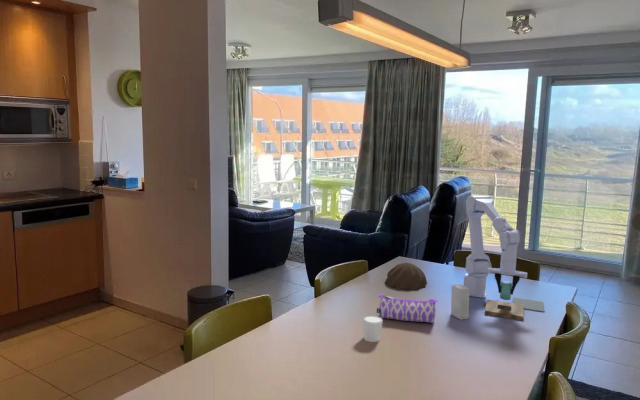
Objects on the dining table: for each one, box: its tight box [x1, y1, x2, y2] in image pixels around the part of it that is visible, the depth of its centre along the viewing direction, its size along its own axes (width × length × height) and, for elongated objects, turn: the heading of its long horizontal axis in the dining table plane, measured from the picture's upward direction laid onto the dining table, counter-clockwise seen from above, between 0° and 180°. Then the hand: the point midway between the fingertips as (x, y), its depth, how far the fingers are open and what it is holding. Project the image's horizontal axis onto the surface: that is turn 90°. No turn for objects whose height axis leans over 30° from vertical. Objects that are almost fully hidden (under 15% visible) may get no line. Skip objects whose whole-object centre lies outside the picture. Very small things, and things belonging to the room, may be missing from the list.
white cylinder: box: [362, 315, 384, 343], centre depth 161 cm, size 7×7×7 cm
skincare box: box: [450, 283, 470, 321], centre depth 182 cm, size 6×4×12 cm
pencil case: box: [376, 292, 438, 324], centre depth 179 cm, size 22×9×10 cm, turn 77°
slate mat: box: [512, 297, 546, 313], centre depth 197 cm, size 12×12×1 cm
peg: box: [499, 280, 512, 301], centre depth 189 cm, size 4×4×6 cm
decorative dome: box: [384, 262, 428, 291], centre depth 222 cm, size 19×20×10 cm
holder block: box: [484, 299, 524, 321], centre depth 190 cm, size 14×14×2 cm
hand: (505, 292), depth 189 cm, fingers closed on peg, 4 cm apart
